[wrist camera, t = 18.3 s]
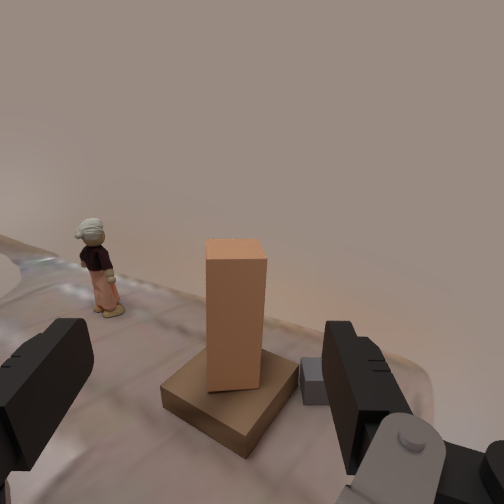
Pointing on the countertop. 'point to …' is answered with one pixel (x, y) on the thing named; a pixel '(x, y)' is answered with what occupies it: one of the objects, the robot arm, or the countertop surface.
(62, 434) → the countertop surface
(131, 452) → the countertop surface
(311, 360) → the charcoal brick
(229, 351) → the light brown brick
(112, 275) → the grandmother figurine
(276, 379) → the walnut block
